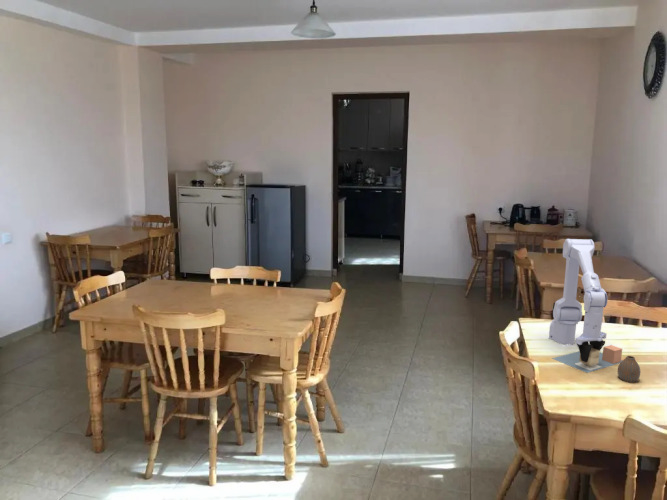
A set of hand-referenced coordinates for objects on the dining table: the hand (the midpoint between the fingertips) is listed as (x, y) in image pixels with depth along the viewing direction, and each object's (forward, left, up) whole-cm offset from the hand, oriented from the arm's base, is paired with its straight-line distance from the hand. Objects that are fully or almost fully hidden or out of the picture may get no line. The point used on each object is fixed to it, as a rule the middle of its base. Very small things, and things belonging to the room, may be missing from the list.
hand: (588, 360), depth 204 cm
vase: (+14, +2, -3) cm, 14 cm away
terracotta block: (+1, +12, -2) cm, 12 cm away
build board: (-4, +5, -3) cm, 7 cm away
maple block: (0, 0, -1) cm, 1 cm away
